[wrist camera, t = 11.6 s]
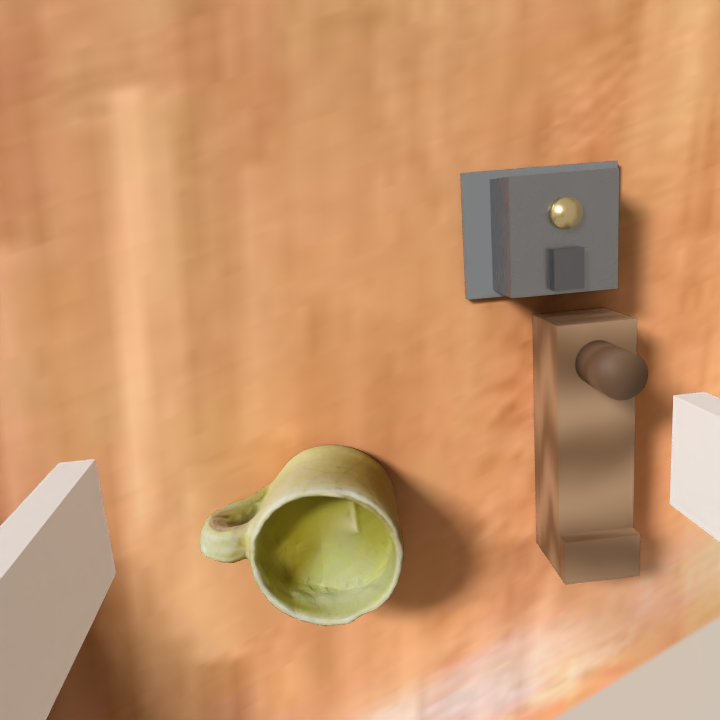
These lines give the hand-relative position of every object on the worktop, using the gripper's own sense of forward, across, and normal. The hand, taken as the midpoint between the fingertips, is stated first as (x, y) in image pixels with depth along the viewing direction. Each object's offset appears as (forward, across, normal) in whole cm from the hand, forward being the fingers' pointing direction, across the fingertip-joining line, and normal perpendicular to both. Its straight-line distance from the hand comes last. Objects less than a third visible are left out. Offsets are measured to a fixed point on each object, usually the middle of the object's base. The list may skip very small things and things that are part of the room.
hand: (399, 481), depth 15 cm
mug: (+29, -3, -13) cm, 32 cm away
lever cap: (+28, +14, +4) cm, 31 cm away
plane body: (+28, +16, -10) cm, 34 cm away
